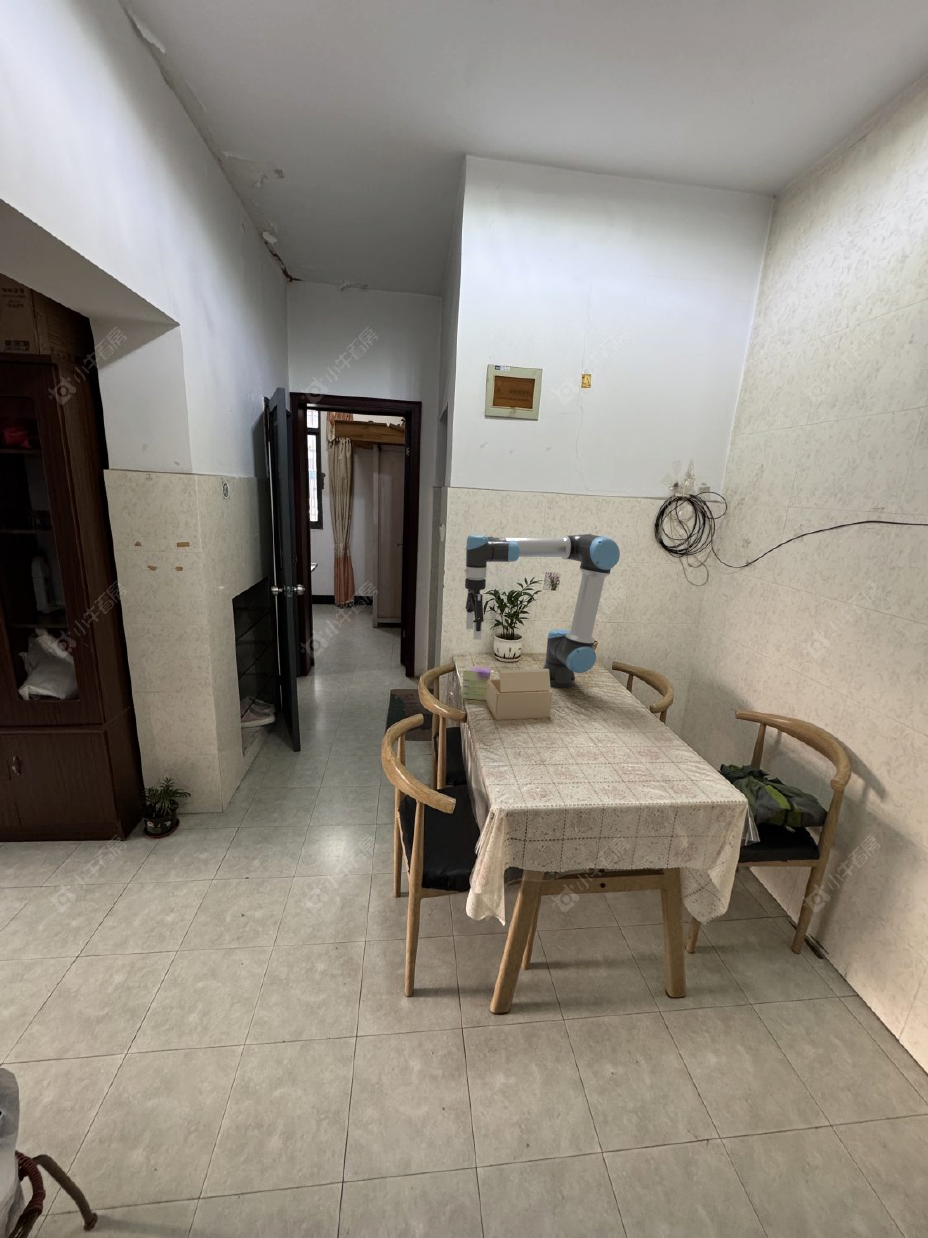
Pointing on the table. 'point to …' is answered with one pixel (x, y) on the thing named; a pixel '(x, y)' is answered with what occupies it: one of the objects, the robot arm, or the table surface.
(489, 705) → the carton
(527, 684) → the flap
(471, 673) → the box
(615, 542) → the robot arm
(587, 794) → the table surface
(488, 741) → the table surface
